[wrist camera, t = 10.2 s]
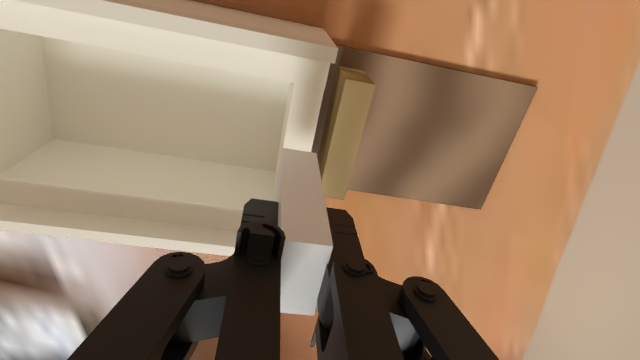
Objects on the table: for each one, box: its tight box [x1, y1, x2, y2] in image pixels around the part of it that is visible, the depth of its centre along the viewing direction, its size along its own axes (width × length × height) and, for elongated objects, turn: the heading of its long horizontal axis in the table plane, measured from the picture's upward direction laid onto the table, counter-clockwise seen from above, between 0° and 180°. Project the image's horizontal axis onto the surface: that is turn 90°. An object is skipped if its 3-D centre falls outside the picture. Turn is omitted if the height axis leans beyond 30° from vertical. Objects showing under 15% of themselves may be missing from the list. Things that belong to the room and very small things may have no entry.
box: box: [0, 0, 338, 256], centre depth 19 cm, size 16×11×7 cm
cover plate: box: [311, 44, 538, 210], centre depth 24 cm, size 14×9×4 cm, turn 78°
